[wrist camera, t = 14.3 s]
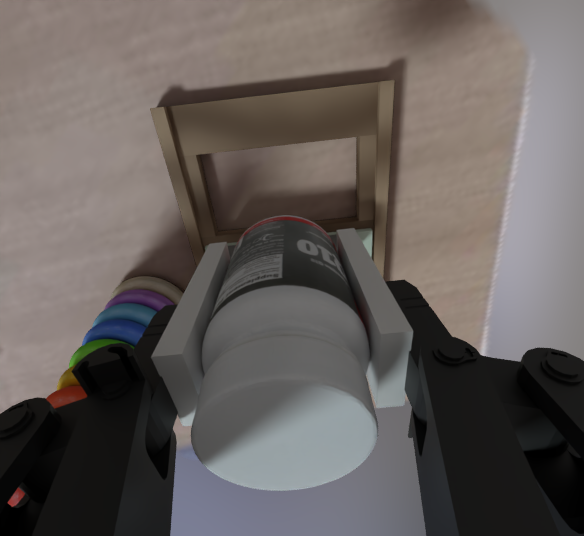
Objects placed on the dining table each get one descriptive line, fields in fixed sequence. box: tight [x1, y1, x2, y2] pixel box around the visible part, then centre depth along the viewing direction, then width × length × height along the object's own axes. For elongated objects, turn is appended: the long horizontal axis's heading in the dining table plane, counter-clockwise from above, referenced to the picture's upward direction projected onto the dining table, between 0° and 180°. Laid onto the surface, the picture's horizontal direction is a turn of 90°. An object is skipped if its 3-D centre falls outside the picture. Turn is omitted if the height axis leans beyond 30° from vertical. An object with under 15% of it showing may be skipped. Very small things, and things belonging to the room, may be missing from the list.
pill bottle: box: [191, 215, 378, 491], centre depth 10 cm, size 5×5×8 cm
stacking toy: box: [8, 276, 183, 507], centre depth 24 cm, size 8×8×19 cm
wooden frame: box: [150, 80, 395, 279], centre depth 27 cm, size 22×18×2 cm
